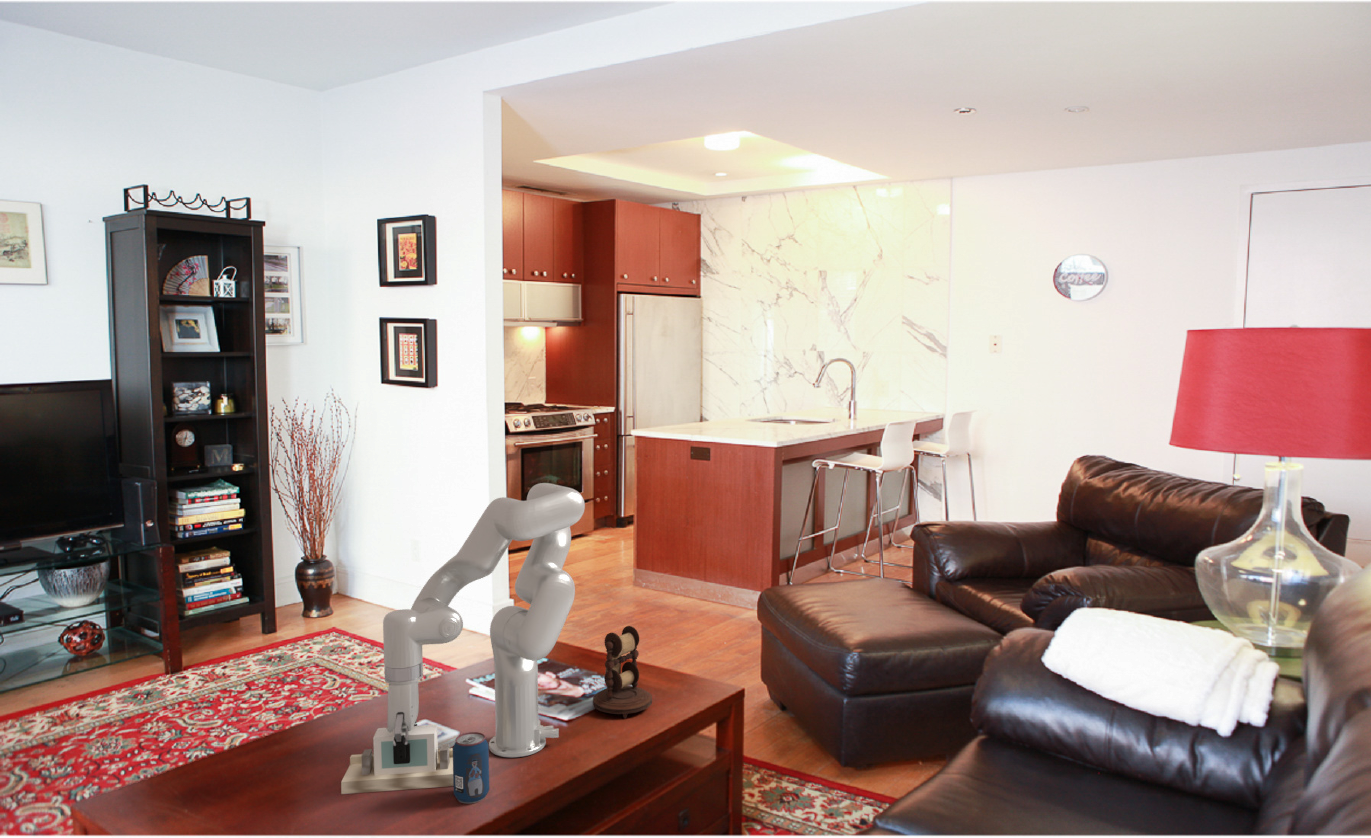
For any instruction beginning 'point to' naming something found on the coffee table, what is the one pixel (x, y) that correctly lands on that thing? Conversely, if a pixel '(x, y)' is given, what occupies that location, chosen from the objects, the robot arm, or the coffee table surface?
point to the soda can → (470, 767)
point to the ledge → (395, 775)
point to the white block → (420, 751)
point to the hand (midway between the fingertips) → (406, 752)
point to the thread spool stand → (622, 676)
